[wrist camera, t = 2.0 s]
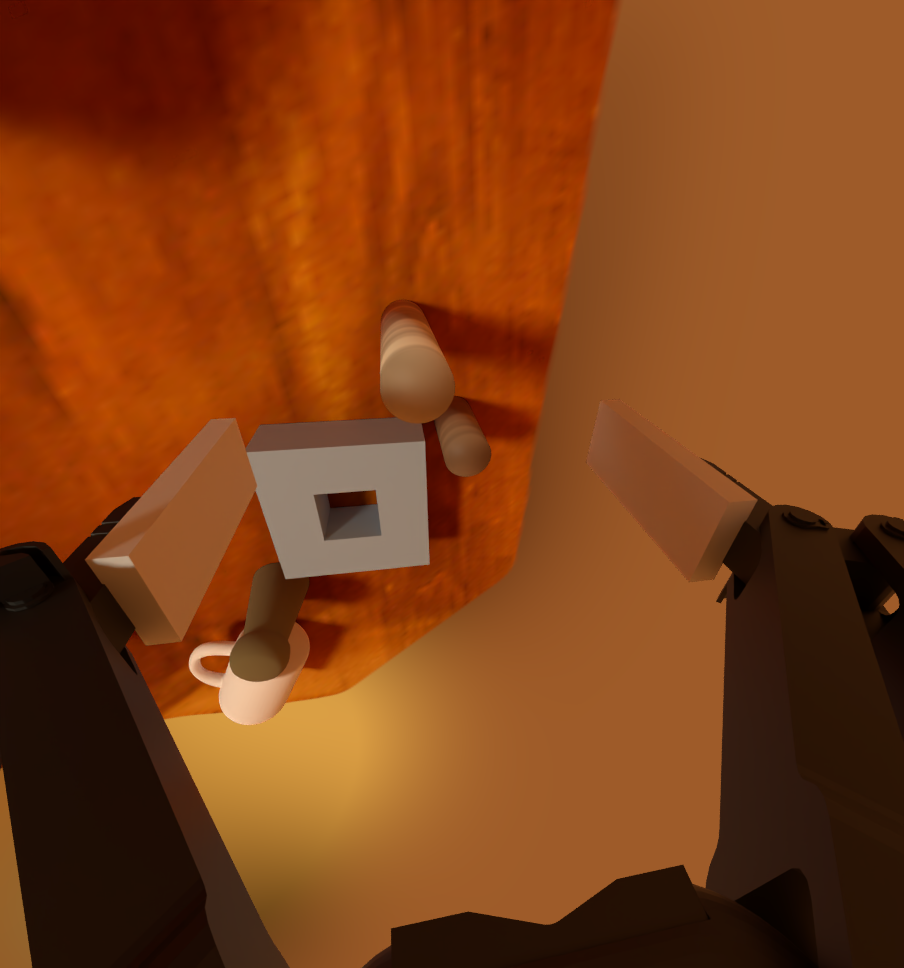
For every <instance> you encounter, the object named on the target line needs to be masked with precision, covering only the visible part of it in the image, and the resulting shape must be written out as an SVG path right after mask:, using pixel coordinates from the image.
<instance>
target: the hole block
mask: <svg viewBox="0 0 904 968" xmlns="http://www.w3.org/2000/svg"><path fill="white" fill-rule="evenodd" d="M246 452H247V455H248V459H249V462H250V465H251V468H252V471H253V474H254V477H255V480H256V483H257V488H256V492H257V495H258V498H259V501H260V504H261V507H262V510H263V513H264V516H265V519H266V522H267V525H268V528H269V531H270V534H271V537H272V540H273V543H274V546H275V549H276V552H277V555H278V558H279V561H280V564H281V567H282V570H283V573H284V576H285V579H293V578H302V577H312V576H322V575H331V574H341V573H350V572H360V571H370V570H379V569H389V568H399V567H408V566H418V565H427V564H429V537H428V509H427V480H426V452H425V438H424V433H423V428H422V423H420V424H415V423H409V422H405V421H402V420H400V419H398V418H380V419H361V420H343V421H325V422H306V423H288V424H269V425H260V426H259V428H258V429H257V431H256V433H255V434H254V436H253V437H252V439H251V441H250V442H249V444H248V446H247V447H246ZM369 490H376V495H377V503H378V504H375V505H363V506H351V507H339V508H330V504H329V499H328V495H327V494H330V493H343V492H356V491H369Z"/></svg>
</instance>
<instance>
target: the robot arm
mask: <svg viewBox="0 0 904 968" xmlns="http://www.w3.org/2000/svg"><path fill="white" fill-rule="evenodd" d="M586 463H587V464H588V466H589V467H590V468H591V469H592V470H593V471H594V473H595V474H596V475H597V476H598V477H599V478H600V479H601V481H602V482H603V483H604V484H605V485H606V486H607V488H608V489H609V490H610V491H611V492H612V493H613V495H614V496H615V497H616V498H617V499H618V500H619V501H620V503H621V504H622V505H623V506H624V507H625V508H626V510H627V511H628V512H629V513H630V514H631V515H632V516H633V518H634V519H635V520H636V521H637V522H638V524H639V525H640V526H641V527H642V528H643V529H644V530H645V532H646V533H647V534H648V535H649V536H650V537H651V538H652V540H653V541H654V542H655V543H656V544H657V546H658V547H659V548H660V549H661V550H662V551H663V552H664V553H665V555H666V556H667V557H668V558H669V559H670V561H671V562H672V563H673V564H674V565H675V566H676V568H677V569H678V570H679V571H680V572H681V573H682V575H683V576H684V577H685V578H686V579H687V580H688V581H689V582H695V581H703V580H712V579H714V578H715V576H716V575H717V573H718V571H719V569H720V567H721V566H722V564H723V563H724V564H725V565H726V566H727V567H728V568H729V569H730V570H731V571H732V574H731V576H730V578H729V580H728V581H727V583H726V584H725V586H724V588H723V590H722V591H721V593H720V595H719V597H718V599H717V601H716V602H719V603H721V602H722V600H723V599H724V598H727V602H726V634H725V667H724V700H723V702H724V703H723V733H722V736H723V737H722V766H721V800H720V802H721V803H720V830H719V839H718V844H717V848H716V851H715V853H714V856H713V859H712V861H711V864H710V867H709V872H708V876H707V880H706V888H703V887H700V886H697V885H694V884H692V882H691V880H690V878H689V876H688V874H687V872H686V870H685V868H684V866H683V865H680V866H675V867H670V868H666V869H661V870H657V871H652V872H647V873H643V874H639V875H634V876H629V877H625V878H620V879H616V880H615V881H614V882H612V883H611V884H610V885H608V886H607V887H606V888H604V889H603V890H601V891H600V892H599V893H597V894H596V895H594V896H593V897H592V898H590V899H589V900H587V901H586V902H585V903H583V904H582V905H580V906H579V907H578V908H576V909H575V910H574V911H572V912H571V913H569V914H568V915H567V916H565V917H564V918H563V919H561V920H560V921H558V922H556V923H554V924H551V925H543V924H537V923H531V922H525V921H519V920H513V919H507V918H502V917H496V916H490V915H484V914H478V913H472V912H465V913H460V914H455V915H451V916H446V917H442V918H437V919H433V920H428V921H423V922H419V923H415V924H410V925H405V926H401V927H397V928H392V929H391V946H389V947H388V948H386V949H385V950H383V951H382V952H380V953H379V954H377V955H376V956H375V957H373V958H372V959H371V960H370V961H369V962H368V963H367V964H365V965H364V966H363V967H362V968H904V521H903V519H900V518H896V517H894V518H892V517H888V516H884V515H868V516H865V517H864V518H863V519H862V521H861V522H860V523H859V525H858V526H857V528H856V529H855V530H849V529H841V528H833V527H832V525H831V524H830V523H829V522H828V521H826V520H825V519H824V518H822V517H821V516H819V515H816V514H815V513H813V512H811V511H808V510H805V509H802V508H799V507H795V506H790V505H775V506H772V505H771V504H769V503H768V502H766V501H765V500H764V499H762V498H761V497H759V496H758V495H756V494H755V493H754V492H752V491H751V490H749V489H748V488H747V487H745V486H744V485H743V484H741V483H740V482H736V481H737V480H736V479H734V478H733V477H731V476H730V475H726V472H724V471H723V470H722V469H720V468H719V467H717V466H716V465H715V464H713V463H711V462H708V461H706V460H704V459H702V458H699V457H698V456H696V455H695V454H694V453H693V452H691V451H690V450H688V449H687V448H686V447H684V446H683V445H681V444H680V443H679V442H677V441H676V440H675V439H673V438H672V437H671V436H669V435H668V434H666V433H665V432H663V431H662V430H661V429H659V428H658V427H657V426H655V425H654V424H653V423H651V422H650V421H648V420H647V419H646V418H644V417H643V416H642V415H640V414H639V413H637V412H636V411H635V410H633V409H632V408H631V407H629V406H628V405H626V404H625V403H624V402H622V401H621V400H620V399H617V400H616V399H615V400H601V401H600V405H599V410H598V413H597V418H596V422H595V427H594V431H593V435H592V439H591V443H590V448H589V452H588V456H587V460H586ZM256 488H257V483H256V480H255V477H254V474H253V471H252V468H251V465H250V462H249V459H248V455H247V452H246V449H245V446H244V443H243V440H242V437H241V434H240V431H239V428H238V425H237V422H236V419H235V418H228V419H211V420H210V421H209V422H208V423H207V424H206V426H205V427H204V428H203V429H202V430H201V431H200V432H199V433H198V434H197V436H196V437H195V438H194V439H193V440H192V441H191V442H190V443H189V445H188V446H187V447H186V448H185V449H184V450H183V451H182V452H181V453H180V455H179V456H178V457H177V458H176V459H175V460H174V461H173V462H172V463H171V465H170V466H169V467H168V468H167V469H166V470H165V471H164V472H163V473H162V475H161V476H160V477H159V478H158V479H157V480H156V481H155V482H154V483H153V485H152V486H151V487H150V488H149V489H148V490H147V491H146V492H145V493H144V495H143V496H142V497H133V498H132V499H130V500H129V501H127V502H125V503H124V504H122V505H121V506H119V507H117V508H116V509H114V510H113V511H112V512H111V513H110V514H109V515H108V517H107V518H106V519H105V520H104V521H103V522H102V525H99V526H98V527H97V528H96V529H95V530H94V531H93V532H92V533H91V537H87V538H86V540H85V541H84V542H83V543H82V544H81V545H80V546H79V547H78V548H77V549H76V550H75V551H74V552H73V553H72V554H71V555H70V556H69V557H68V558H67V559H66V560H65V562H64V563H62V562H61V561H60V559H59V558H58V557H57V555H56V554H55V553H54V551H53V550H52V549H51V547H49V546H48V545H47V544H46V543H43V542H34V541H32V542H25V543H18V544H14V545H11V546H7V547H4V548H1V549H0V769H1V764H2V765H3V772H4V779H5V785H6V792H7V799H8V806H9V812H10V819H11V826H12V833H13V840H14V846H15V853H16V860H17V866H18V873H19V880H20V887H21V894H22V900H23V906H24V913H25V921H26V927H27V934H28V941H29V948H30V954H31V961H32V968H289V966H288V964H287V963H286V961H285V959H284V958H283V956H282V955H281V953H280V952H279V950H278V949H277V947H276V946H275V945H274V943H273V941H272V939H271V938H270V936H269V934H268V932H267V930H266V929H265V927H264V925H263V923H262V921H261V919H260V917H259V914H258V913H257V910H256V908H255V906H254V904H253V902H252V900H251V898H250V896H249V894H248V892H247V890H246V888H245V886H244V884H243V882H242V880H241V877H240V875H239V873H238V871H237V869H236V867H235V865H234V863H233V861H232V859H231V857H230V855H229V853H228V851H227V849H226V847H225V845H224V842H223V841H222V839H221V836H220V834H219V832H218V830H217V828H216V826H215V824H214V822H213V820H212V818H211V816H210V814H209V812H208V810H207V808H206V806H205V803H204V802H203V799H202V797H201V795H200V793H199V791H198V789H197V787H196V785H195V783H194V781H193V779H192V777H191V775H190V773H189V771H188V768H187V766H186V765H185V763H184V760H183V758H182V756H181V754H180V752H179V750H178V748H177V746H176V744H175V742H174V740H173V738H172V736H171V734H170V731H169V729H168V727H167V725H166V723H165V722H164V719H163V717H162V715H161V713H160V711H159V709H158V707H157V705H156V703H155V701H154V699H153V697H152V695H151V692H150V690H149V688H148V686H147V684H146V682H145V680H144V678H143V676H142V674H141V672H140V670H139V668H138V666H137V664H136V662H135V660H134V658H133V655H132V654H131V652H130V651H129V650H128V648H127V647H126V646H125V645H126V643H127V642H128V640H129V638H130V637H131V635H132V633H133V632H134V630H135V631H136V632H137V634H138V635H139V636H140V638H141V639H142V641H143V642H144V643H145V645H146V646H147V645H155V644H164V643H172V642H181V641H182V639H183V637H184V635H185V633H186V631H187V629H188V627H189V625H190V623H191V621H192V619H193V617H194V615H195V613H196V611H197V609H198V607H199V605H200V603H201V601H202V598H203V596H204V594H205V592H206V590H207V588H208V586H209V584H210V582H211V580H212V578H213V576H214V574H215V572H216V570H217V568H218V566H219V564H220V562H221V560H222V557H223V555H224V553H225V551H226V549H227V547H228V545H229V543H230V541H231V539H232V537H233V535H234V533H235V531H236V529H237V527H238V525H239V523H240V521H241V519H242V516H243V514H244V512H245V510H246V508H247V506H248V504H249V502H250V500H251V498H252V496H253V494H254V492H255V490H256ZM894 593H896V594H897V596H898V598H899V604H900V605H899V608H898V609H897V610H896V611H895V612H894V613H892V614H889V613H888V611H887V610H886V609H885V607H884V606H883V605H884V604H885V603H886V602H887V601H888V600H889V599H890V597H892V595H893V594H894Z"/></svg>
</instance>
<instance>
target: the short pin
mask: <svg viewBox="0 0 904 968" xmlns="http://www.w3.org/2000/svg"><path fill="white" fill-rule="evenodd" d="M434 423H435V426H436V430H437V434H438V438H439V441H440V445H441V449H442V453H443V457H444V460H445V464H446V466H447V468H448V469H449V470H450V471H451V472H452V473H453V474H455V475H458V476H463V477H468V476H473V475H476V474H478V473H480V472H481V471H482V470H484V469H485V468H486V466H487V465H488V463H489V461H490V458H491V449H490V446H489V444H488V442H487V440H486V438H485V436H484V434H483V432H482V430H481V428H480V426H479V424H478V422H477V420H476V418H475V416H474V414H473V411H472V409H471V407H470V405H469V404H468V402H467V401H466V400H465V399H463V398H461V397H458V396H454V397H453V400H452V402H451V404H450V406H449V407H448V409H447V410H446V411H445V412H444V413H443V414H442V415H441V416H440V417H438V418H436V419H435V420H434Z"/></svg>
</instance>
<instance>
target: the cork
mask: <svg viewBox="0 0 904 968" xmlns="http://www.w3.org/2000/svg"><path fill="white" fill-rule="evenodd" d="M308 587H309V578H308V577H302V578H293V579H285V576H284V573H283V570H282V567H281V564H280V563H272V564H268V565H265V566H263V567H261V568H260V569H259V570H257V571H256V573H255V575H254V577H253V582H252V588H251V593H250V599H249V605H248V610H247V616H246V622H245V627H244V633H243V636H242V637H240V638H239V639H238V640H237V642H236V643H235V645H234V647H233V648H232V651H231V653H230V668H231V670H232V672H233V673H234V675H236V676H237V677H239V678H241V679H243V680H246V681H251V682H262V681H268V680H271V679H274V678H276V677H277V676H278V675H280V674H281V673H282V672H283V671H284V669H285V668H286V666H287V664H288V662H289V659H290V651H291V650H290V644H289V642H288V639H289V636H290V634H291V631H292V629H293V626H294V623H295V621H296V618H297V616H298V613H299V611H300V608H301V605H302V603H303V600H304V598H305V595H306V593H307V590H308Z"/></svg>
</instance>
